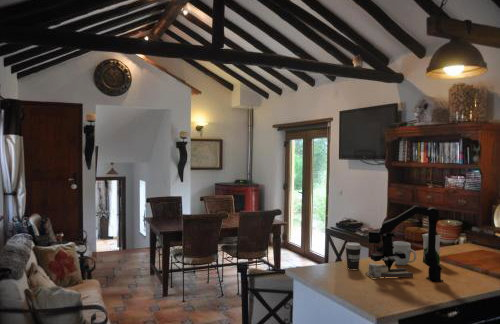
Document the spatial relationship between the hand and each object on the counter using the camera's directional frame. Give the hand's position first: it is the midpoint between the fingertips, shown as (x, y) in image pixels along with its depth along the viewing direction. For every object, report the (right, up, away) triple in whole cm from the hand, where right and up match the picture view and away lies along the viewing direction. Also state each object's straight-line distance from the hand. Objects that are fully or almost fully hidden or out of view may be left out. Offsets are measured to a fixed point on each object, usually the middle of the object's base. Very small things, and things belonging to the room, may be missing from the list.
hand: (388, 271), depth 224 cm
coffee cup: (-17, -3, +13) cm, 21 cm away
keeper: (-4, -1, -1) cm, 5 cm away
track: (0, -3, 0) cm, 3 cm away
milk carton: (+35, -2, +25) cm, 43 cm away
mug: (+17, -2, +22) cm, 28 cm away
